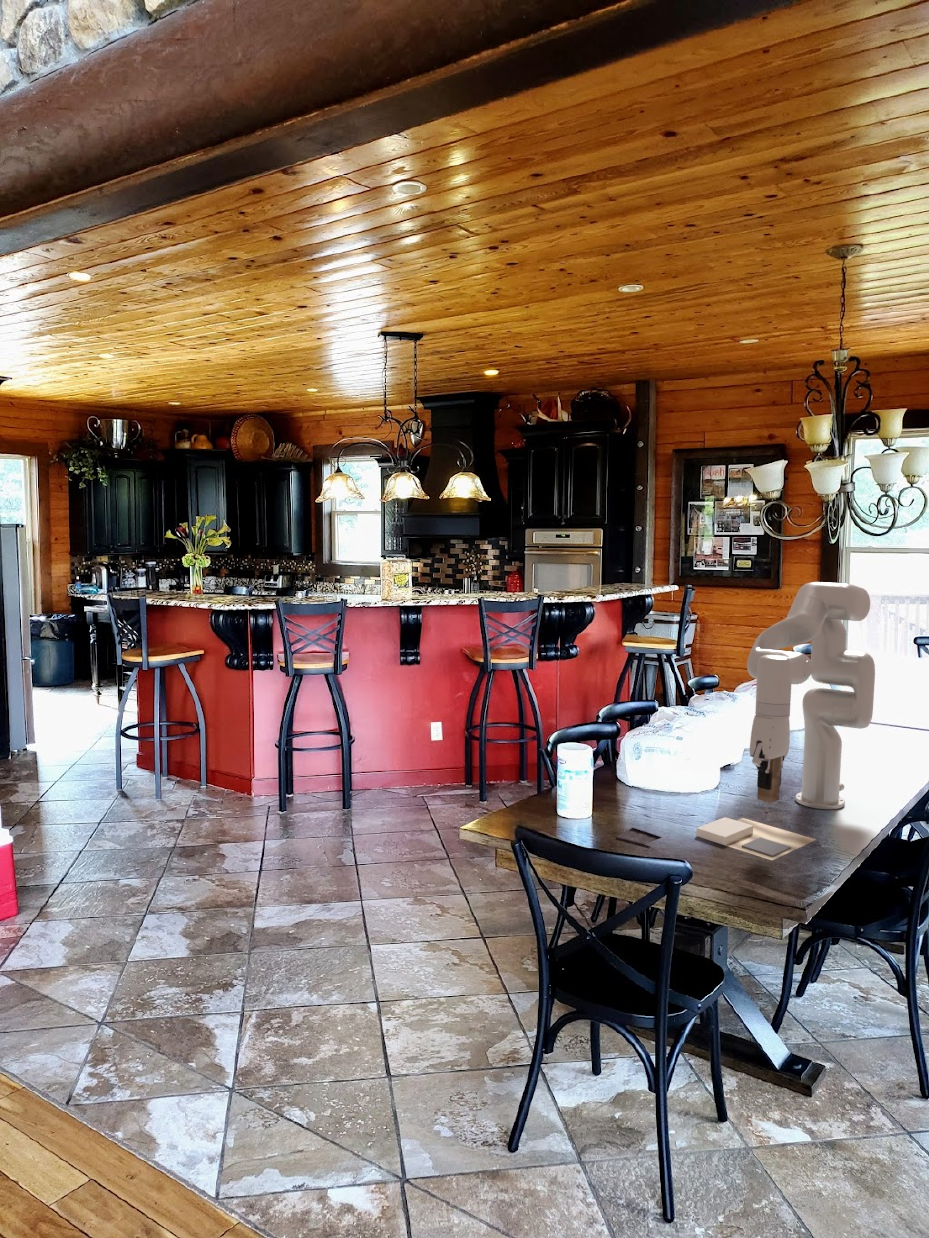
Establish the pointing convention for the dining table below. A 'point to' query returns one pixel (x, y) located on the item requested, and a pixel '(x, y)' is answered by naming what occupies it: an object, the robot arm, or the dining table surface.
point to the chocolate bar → (637, 837)
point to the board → (770, 838)
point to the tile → (724, 831)
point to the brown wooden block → (772, 782)
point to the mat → (766, 847)
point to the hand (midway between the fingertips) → (768, 785)
